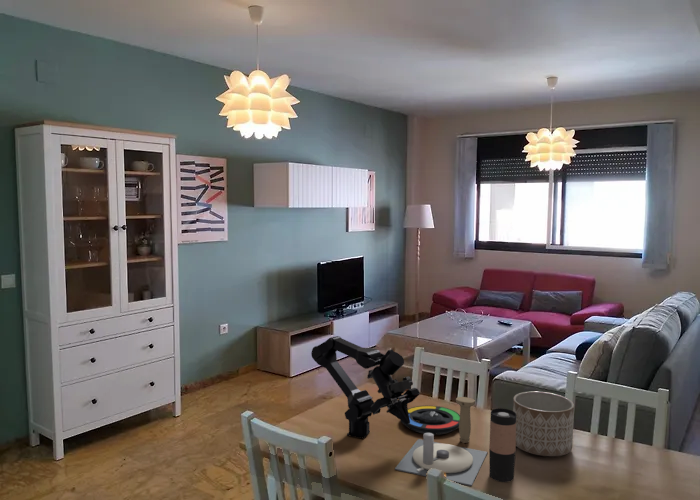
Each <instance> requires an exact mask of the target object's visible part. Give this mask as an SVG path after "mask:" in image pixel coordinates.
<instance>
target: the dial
mask: <svg viewBox="0 0 700 500" xmlns="http://www.w3.org/2000/svg"><path fill="white" fill-rule="evenodd" d="M422 434H423V436H422V437H423V439H422V440H423V446H420V447H418V448H417V449H415V451H414V452H413V460H414V462H415V463H416V464H417V465H419V466H420V467H422V468H424V469H426V470H429V469H430V468H436V469H440V470H442V471H443V472H444V473H457V472H462V471H465V470H467V469H469V468H470V467H471V466H472V464H473V457H472V455H471V454H470V453H469V452H468V451H467V450H465V449H463V448H461V447H462V446H459V447H458V445H453V444H451V443H450V444H449V443H442V442H437V443H434V442H435V439H434V438H435V437H434V436H435V435H434V434H432V433H422Z"/></svg>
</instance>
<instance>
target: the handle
mask: <svg viewBox="0 0 700 500" xmlns="http://www.w3.org/2000/svg"><path fill="white" fill-rule="evenodd" d="M455 402H456V404H457V405H458V406H459V407H460V411H459V415H460V420H459V428H458V433H459V434H458V435H459V441H460V442H461V443H463V444H467V443H469V442H470V439H471V431H472V430H471V428H472V426H471V425H472V423H471V422H472V421H471V407H473V406H475V404H476V400H475V399H473V398H471V397H467V396H458V397H456V398H455Z"/></svg>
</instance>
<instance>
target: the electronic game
mask: <svg viewBox="0 0 700 500" xmlns="http://www.w3.org/2000/svg"><path fill="white" fill-rule="evenodd" d="M408 414H409V419H410V423H409V424H406V423H404V422H403V421H401V420H400V422H401V423H402V424H403V425H404V426H405V427H406V428H408V429H410V430H412V431H413V432H416V433H419V434H424V433H432V434H434V436H435V435H437V436H438V435H445V434H449V433H452V432H454V431H455V430H457V429H459V420H460V413H458V411H456V410H454V409H451V408H449V407H448V408H447V407H444V406H438V405H418V406H416V405H415V406H413V407H409V408H408Z"/></svg>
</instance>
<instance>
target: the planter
mask: <svg viewBox="0 0 700 500" xmlns="http://www.w3.org/2000/svg"><path fill="white" fill-rule="evenodd" d="M512 411H514V412H515V413H516V447H517V448H518V449H519V450H522V451H524V452H527V453H529V454H533V455H536V456H542V457H561V456H565V455H567V454H569V453H571V452H572V450H573V445H574V444H573V442H574V441H573V439H574V420H575V419H574V416H575V415H574V414H575V404H574V402H573V401H572V400H571V399H570V398H567V397H565V396H563V395H560V394H556V393H552V392H545V391H523V392H519V393H516V394H515V395H514V396H513V405H512Z"/></svg>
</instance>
